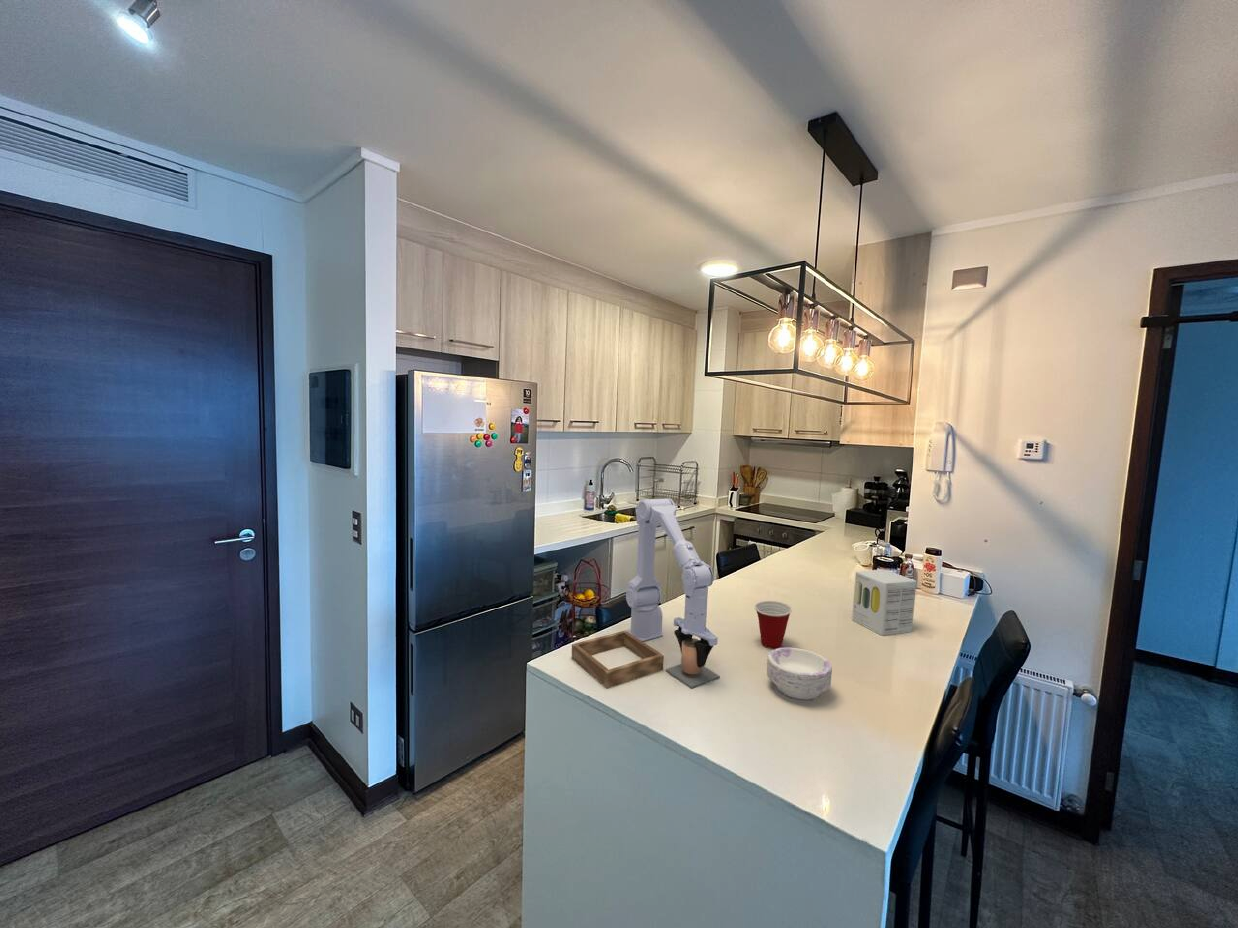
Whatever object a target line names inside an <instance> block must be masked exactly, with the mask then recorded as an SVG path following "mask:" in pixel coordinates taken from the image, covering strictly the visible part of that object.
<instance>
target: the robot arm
mask: <svg viewBox="0 0 1238 928" xmlns="http://www.w3.org/2000/svg"><path fill="white" fill-rule="evenodd" d="M636 505H637V507H636V524H637V525H638V535H637V536H638V538H637V559H636V560H637V562H636V563H637V564H636V565H637V566H636V575H635V576H634V577H633V578H632V579H630V580H629V581H628V584H627V590H626V592H625V600H626V602H627V605H628V607H629V608H630V609H631V611H630V612H631V613H630V614H631V615H630V629H628V630H626V631H627V632H628V633H630V634H632V635H633V636H635V637H636V638H638V639H639V640H641V641H642V642H645V641H646V642H647V641H650V640H652V639H655V638H660V637H664V633H663V612H662V608H661V607H660V606H659V604H660V603H661V601H662V591H661V582H660V580H658V579H657V578H655V577H654V576H655V555H656V554H655V553H656V551H655V550H656V532H657V531H656V529H657V527H658V526H661V527H662V529H663V530H664V532H665V533H666V535H667V537H668V539H669V540H670V542H671V544H672V545H673V549H672V554H673V556H674V558H675V560H676V562H677V564H678V565H679V568H680V570H681V572H682V574H680V575H681V576H680V577H681V582H682V585H683V594H685V595H684V612H683V613H684V614H683V615H684V616H683V618H682V617H680V616H679V617H674V618H673V626H675V627H678V628H677V629H675V630H674V632H673V633H674V636H675V637H676V640H677V642H678V645H679V648H680V656H682V641H683V640H685V639H687V638H693V636H694V637H697V638H699V639H698V640H699V641H696V642H694V644H695V647H696V652H697V666H698V667H699V668H700V667H703V666H704V667H706V663H707V660H708V658H709V655H710V652H711V651H712V649H713V648H714V646H716V645H718V640H719V639H718V638H719V637H718V636H716V635H715V634H714V633H713V632H712V631H711V630H709V629H708V628H707V617H708V616H707V614H708V595H709V587H711V586H712V584H713V582H714V573H713V570H712V568H711V566H710V564H707V563H706V562H705V561H703V560H702V559H701V558H700V556H699V554H698V552H697V551H696V548H695V547H694V544H693V543H692V542H690V541H688V540H687V539H686V538H685V536H684V533H683V532H682V529H681V526H680V524H679V521H678V519H677V517H676V515H677V507H676V504H675V503H674V500H673V499H672V498H670V497H665V498H652V499H646V498H642V499H641V500H640V501H639V502H638V503H637V504H636Z"/></svg>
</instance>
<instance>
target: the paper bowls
mask: <svg viewBox="0 0 1238 928" xmlns="http://www.w3.org/2000/svg"><path fill="white" fill-rule="evenodd" d="M766 659H767V660H766V661H767V662H766V675H767V678H768V679H769V680H770V681H771V682H773V684H775V686H776V688H777V689H778V690H779V691H780V692H781V693H782V694H784V695H786V696H789V697H790V698H795V699H798V700H805V701H806V700H813V699H816V698H817V697H818V696H819V695H820V694H822V693H825V692H827V691H829V690H830V688H831V685H832V676H833V675H832V673H833V666H832V664H831V663H830V661H829V660H828V659H827V658H826V657H825V656H823V655H820V654H819V653H817V652H814V651H811V650H808V649H803V648H799V647H780V648H778V649H771V650H770V651H769V652H768V654H767V658H766ZM819 697H820V696H819Z"/></svg>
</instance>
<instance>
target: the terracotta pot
mask: <svg viewBox="0 0 1238 928" xmlns="http://www.w3.org/2000/svg"><path fill="white" fill-rule="evenodd" d="M699 640H700V639H697V638H695V637H692V638H687V639H685V640H683V641H682V655H680V656H681V658H680V659H681V660H680V661H681V663H680V664H681V669H682V671H683V672H685V673H688V674H699V673H701V672H702V667H700V668H699V667H698V666H697V652H696V647H695V644H694V642H696V641H699Z"/></svg>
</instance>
